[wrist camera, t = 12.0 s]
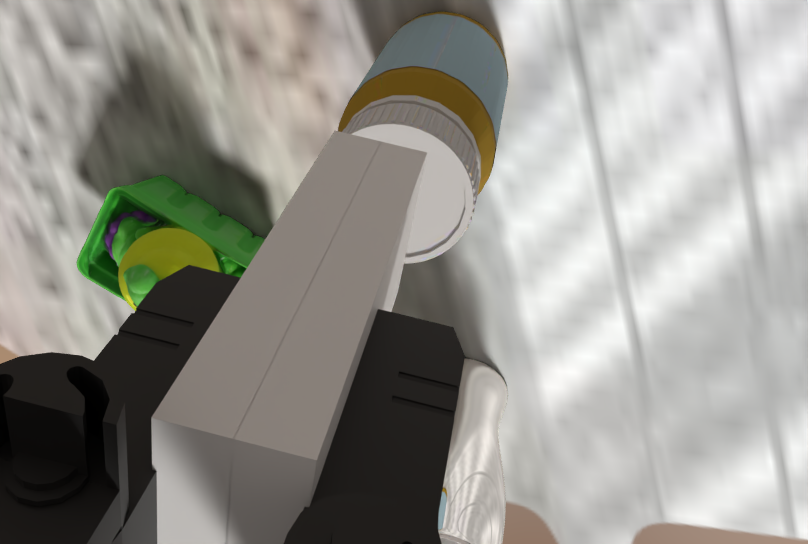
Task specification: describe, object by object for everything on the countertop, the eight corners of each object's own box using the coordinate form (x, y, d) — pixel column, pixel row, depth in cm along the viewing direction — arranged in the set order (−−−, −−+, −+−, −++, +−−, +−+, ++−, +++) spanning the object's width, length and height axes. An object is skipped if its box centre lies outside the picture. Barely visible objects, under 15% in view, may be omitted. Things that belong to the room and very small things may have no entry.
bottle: (377, 122, 45) (306, 257, 32) (388, -1, 41) (311, 97, 28) (497, 142, 44) (471, 287, 32) (519, 18, 40) (499, 128, 28)
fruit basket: (110, 231, 52) (12, 330, 43) (158, 132, 48) (59, 219, 38) (256, 318, 54) (192, 432, 45) (315, 232, 50) (257, 338, 40)
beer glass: (490, 340, 52) (466, 519, 39) (530, 414, 55) (520, 603, 42) (399, 367, 54) (350, 543, 42) (441, 436, 57) (408, 620, 45)
